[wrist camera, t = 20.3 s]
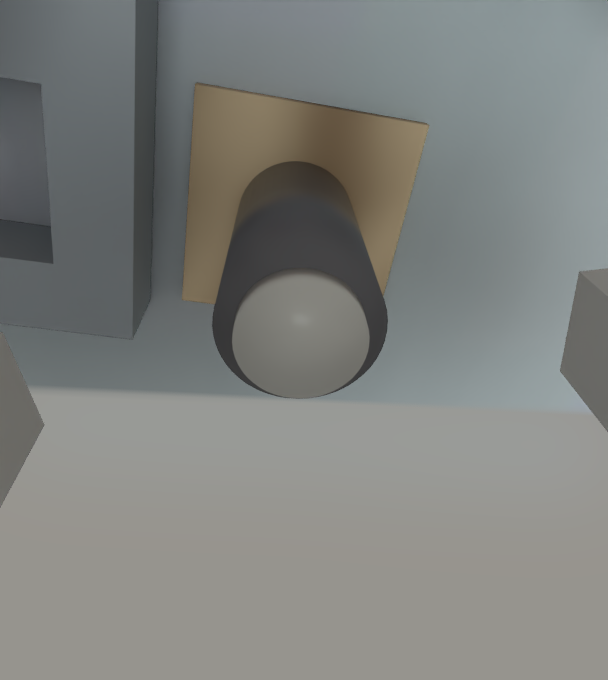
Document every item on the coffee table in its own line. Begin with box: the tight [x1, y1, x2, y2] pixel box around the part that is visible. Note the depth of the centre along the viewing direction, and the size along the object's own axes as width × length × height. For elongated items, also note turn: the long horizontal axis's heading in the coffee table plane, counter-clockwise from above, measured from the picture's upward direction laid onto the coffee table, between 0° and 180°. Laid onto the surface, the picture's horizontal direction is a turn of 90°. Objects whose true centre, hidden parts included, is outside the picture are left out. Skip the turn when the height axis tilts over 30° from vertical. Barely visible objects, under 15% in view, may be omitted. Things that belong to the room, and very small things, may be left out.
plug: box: [212, 161, 388, 399], centre depth 19 cm, size 5×5×10 cm
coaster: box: [182, 83, 429, 304], centre depth 23 cm, size 9×9×1 cm
